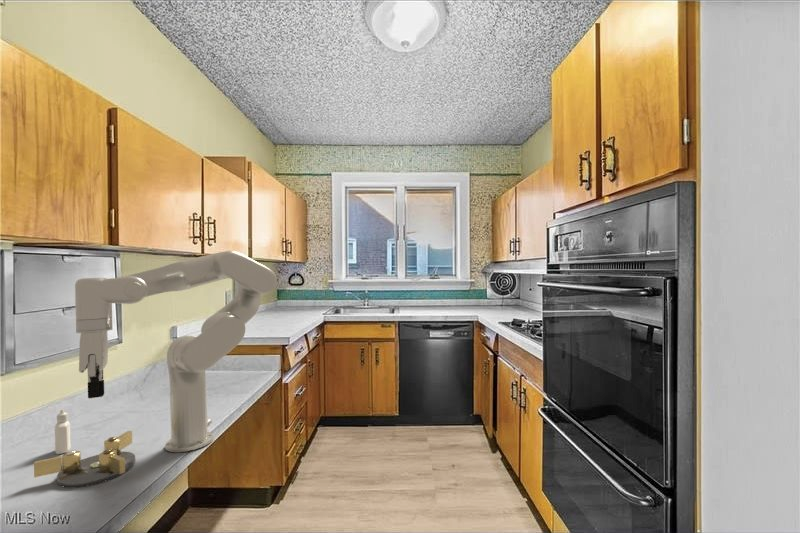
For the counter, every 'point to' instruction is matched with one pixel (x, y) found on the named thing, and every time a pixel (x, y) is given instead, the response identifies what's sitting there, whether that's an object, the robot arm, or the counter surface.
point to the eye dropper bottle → (62, 433)
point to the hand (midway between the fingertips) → (96, 396)
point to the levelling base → (92, 472)
